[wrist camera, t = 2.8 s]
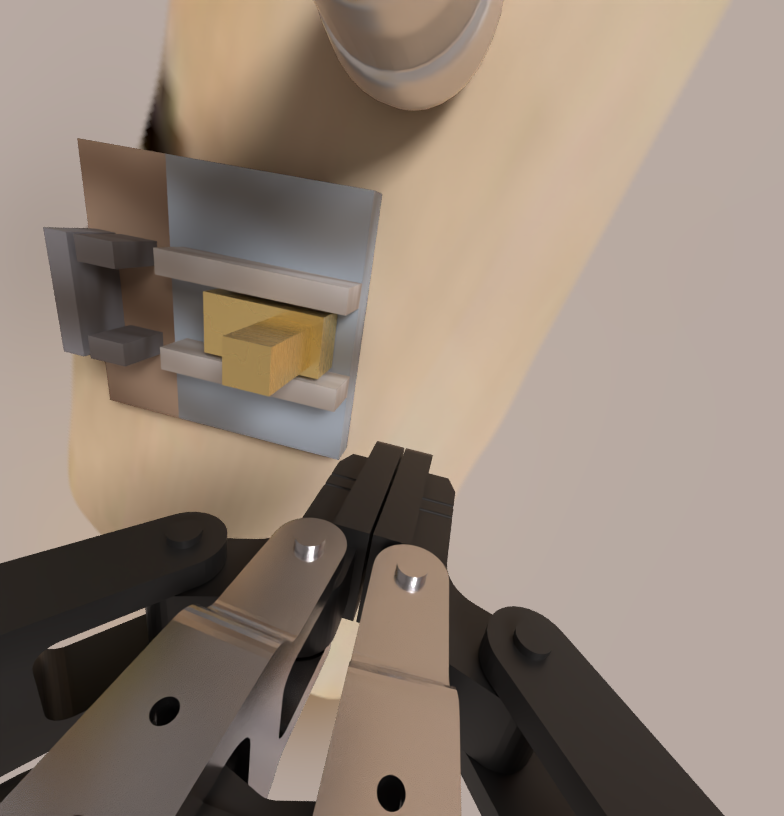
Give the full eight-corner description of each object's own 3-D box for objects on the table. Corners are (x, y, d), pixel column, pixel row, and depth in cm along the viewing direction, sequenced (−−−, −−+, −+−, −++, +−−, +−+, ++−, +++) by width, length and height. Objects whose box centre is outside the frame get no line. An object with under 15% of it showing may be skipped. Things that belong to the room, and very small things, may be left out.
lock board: (103, 144, 21) (17, 123, 17) (382, 194, 19) (356, 183, 16) (129, 391, 27) (69, 417, 23) (346, 447, 25) (321, 486, 21)
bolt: (227, 286, 21) (137, 303, 16) (338, 310, 20) (284, 337, 15) (227, 342, 22) (144, 376, 17) (331, 367, 22) (280, 411, 16)
